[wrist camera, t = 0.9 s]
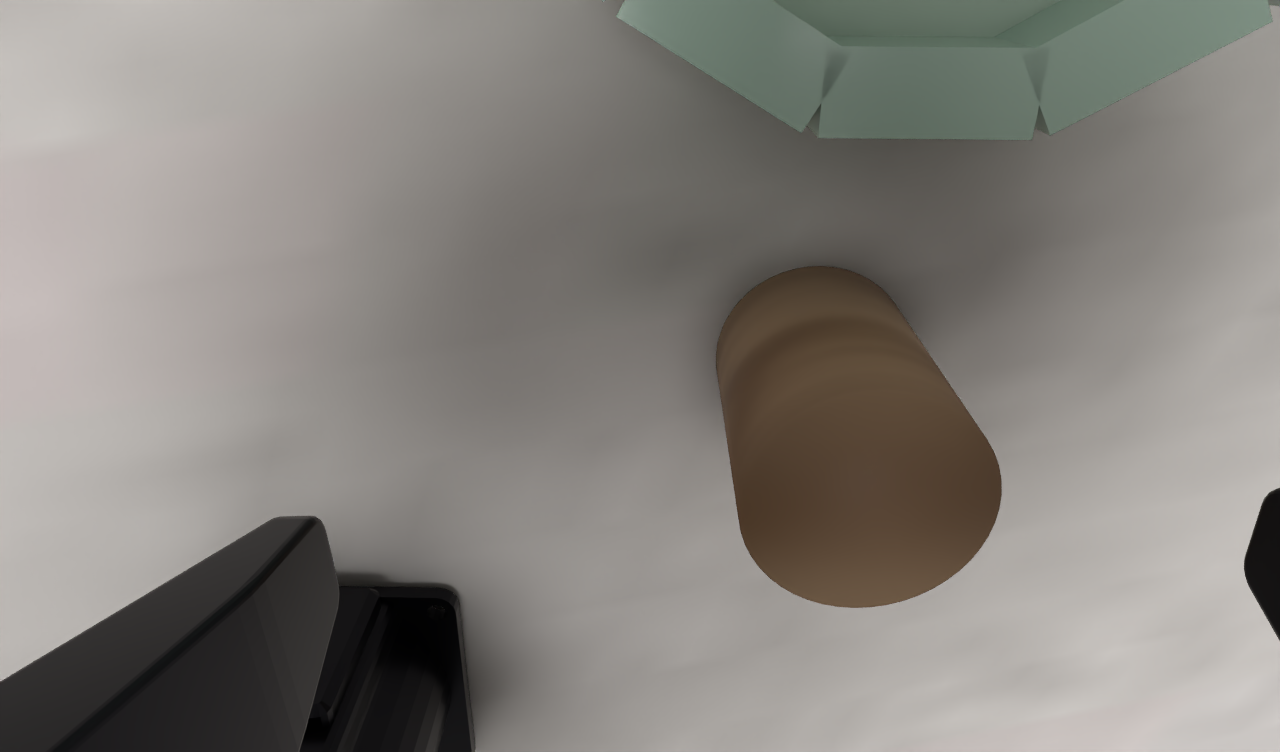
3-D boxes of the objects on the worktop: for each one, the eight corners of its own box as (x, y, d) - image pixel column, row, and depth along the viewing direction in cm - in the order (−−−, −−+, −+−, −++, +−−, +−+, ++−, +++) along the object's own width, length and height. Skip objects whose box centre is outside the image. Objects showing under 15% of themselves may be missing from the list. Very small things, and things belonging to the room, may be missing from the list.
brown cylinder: (893, 439, 21) (976, 609, 16) (712, 437, 21) (731, 605, 16) (920, 267, 19) (1026, 392, 14) (720, 264, 19) (746, 388, 14)
